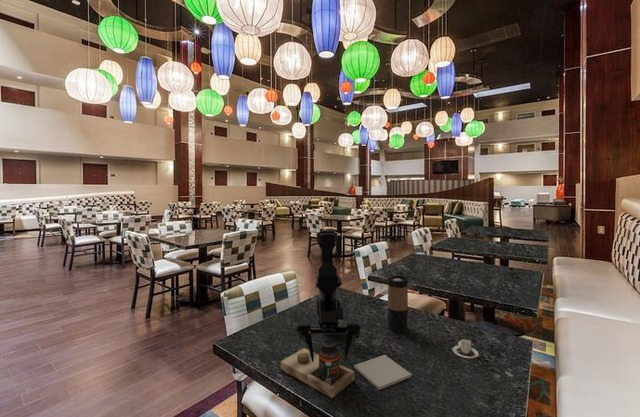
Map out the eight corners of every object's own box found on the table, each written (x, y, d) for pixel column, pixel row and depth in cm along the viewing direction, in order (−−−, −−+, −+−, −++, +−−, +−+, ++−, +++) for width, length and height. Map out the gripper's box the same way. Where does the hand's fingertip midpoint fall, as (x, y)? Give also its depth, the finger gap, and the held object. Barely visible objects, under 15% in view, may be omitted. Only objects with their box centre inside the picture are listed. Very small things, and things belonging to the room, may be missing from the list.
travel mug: (408, 333, 116) (408, 282, 115) (387, 332, 118) (387, 281, 116) (406, 324, 124) (407, 276, 122) (387, 323, 125) (387, 275, 124)
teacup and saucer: (458, 343, 109) (459, 332, 109) (483, 351, 104) (483, 340, 103) (448, 353, 103) (448, 341, 103) (473, 362, 98) (473, 350, 97)
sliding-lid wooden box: (354, 379, 89) (354, 367, 89) (332, 398, 82) (331, 385, 81) (304, 355, 103) (303, 344, 103) (280, 369, 95) (280, 357, 95)
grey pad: (354, 367, 95) (354, 365, 95) (384, 357, 101) (384, 354, 101) (379, 390, 85) (379, 387, 85) (411, 376, 90) (411, 374, 90)
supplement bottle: (333, 390, 85) (332, 350, 84) (315, 383, 88) (314, 345, 87) (343, 378, 90) (342, 341, 89) (325, 372, 93) (325, 336, 92)
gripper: (296, 297, 91) (293, 353, 81) (359, 297, 91) (364, 353, 81) (299, 312, 100) (297, 364, 90) (357, 312, 99) (361, 364, 89)
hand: (329, 361), depth 87 cm, fingers open, 9 cm apart
